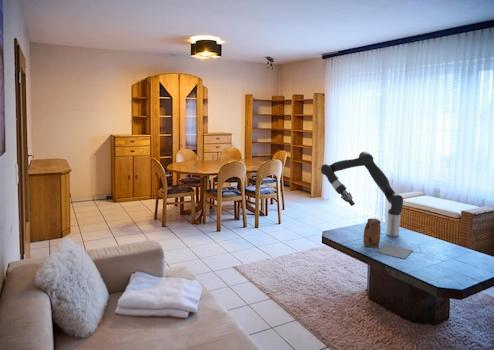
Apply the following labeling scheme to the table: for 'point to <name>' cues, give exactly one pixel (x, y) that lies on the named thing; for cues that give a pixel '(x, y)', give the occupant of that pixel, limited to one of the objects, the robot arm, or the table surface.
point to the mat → (394, 251)
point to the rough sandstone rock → (372, 233)
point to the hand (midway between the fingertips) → (353, 204)
